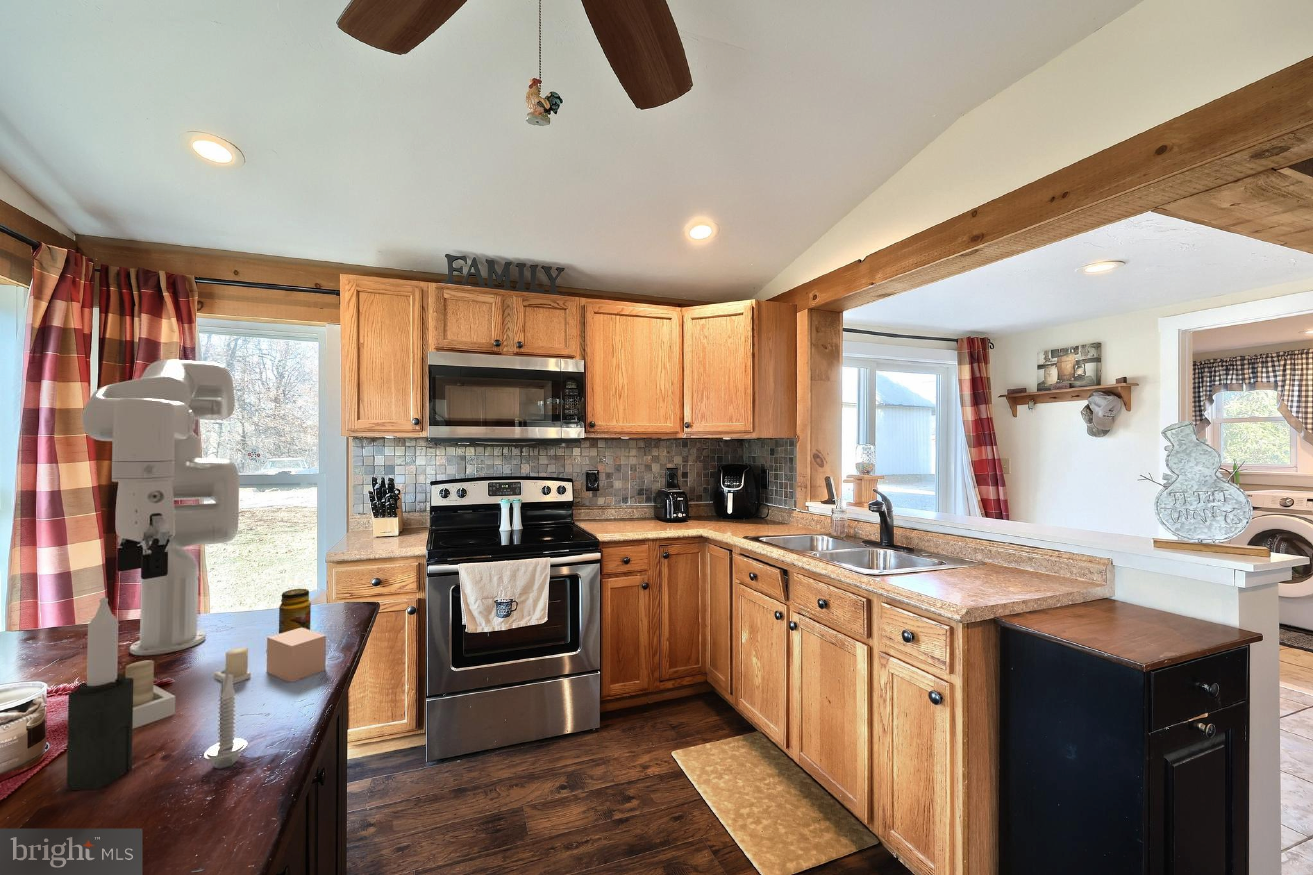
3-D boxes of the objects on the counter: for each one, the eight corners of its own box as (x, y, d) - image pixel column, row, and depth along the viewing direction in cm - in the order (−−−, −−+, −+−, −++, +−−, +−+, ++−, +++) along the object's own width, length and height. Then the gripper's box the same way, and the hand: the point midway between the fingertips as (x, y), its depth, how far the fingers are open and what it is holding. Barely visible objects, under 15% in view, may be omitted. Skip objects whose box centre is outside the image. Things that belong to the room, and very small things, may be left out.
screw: (254, 752, 79) (233, 772, 74) (218, 754, 79) (195, 775, 74) (255, 666, 79) (235, 680, 75) (219, 667, 79) (196, 682, 74)
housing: (266, 671, 106) (267, 637, 106) (300, 660, 112) (301, 627, 112) (291, 682, 102) (291, 646, 102) (325, 669, 108) (326, 635, 108)
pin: (120, 720, 88) (122, 666, 88) (147, 711, 91) (149, 658, 91) (129, 725, 86) (130, 670, 86) (156, 716, 89) (157, 662, 89)
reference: (214, 677, 103) (214, 649, 103) (235, 670, 106) (235, 643, 106) (230, 685, 100) (230, 656, 100) (251, 677, 103) (251, 649, 104)
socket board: (88, 712, 90) (88, 695, 90) (142, 695, 96) (143, 679, 96) (118, 733, 84) (119, 714, 84) (174, 713, 90) (175, 696, 90)
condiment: (311, 645, 120) (312, 592, 120) (265, 653, 116) (266, 598, 116) (311, 635, 126) (312, 585, 126) (268, 642, 122) (269, 590, 122)
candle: (98, 767, 75) (101, 592, 75) (136, 765, 76) (140, 592, 76) (60, 790, 70) (64, 603, 70) (102, 789, 71) (106, 603, 71)
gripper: (195, 472, 88) (193, 575, 88) (151, 469, 96) (149, 562, 96) (135, 475, 81) (132, 586, 81) (93, 470, 89) (91, 571, 89)
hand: (141, 573), depth 88 cm, fingers open, 9 cm apart
